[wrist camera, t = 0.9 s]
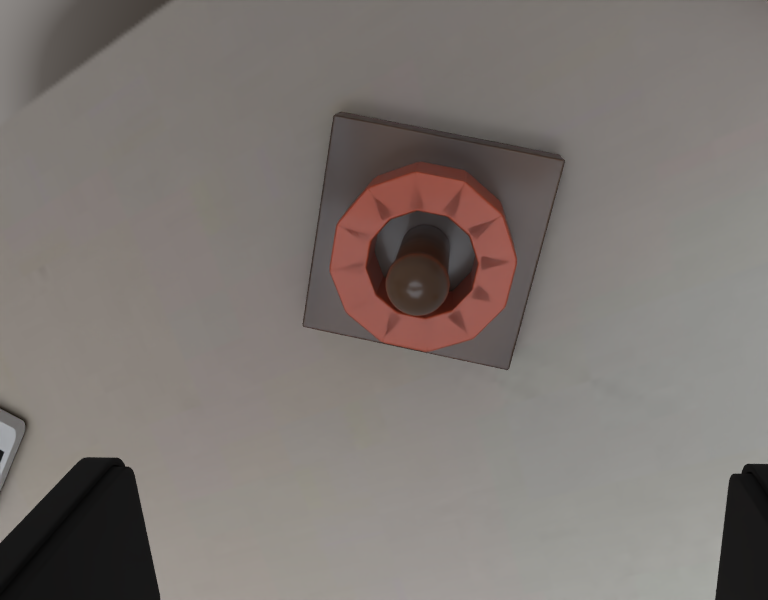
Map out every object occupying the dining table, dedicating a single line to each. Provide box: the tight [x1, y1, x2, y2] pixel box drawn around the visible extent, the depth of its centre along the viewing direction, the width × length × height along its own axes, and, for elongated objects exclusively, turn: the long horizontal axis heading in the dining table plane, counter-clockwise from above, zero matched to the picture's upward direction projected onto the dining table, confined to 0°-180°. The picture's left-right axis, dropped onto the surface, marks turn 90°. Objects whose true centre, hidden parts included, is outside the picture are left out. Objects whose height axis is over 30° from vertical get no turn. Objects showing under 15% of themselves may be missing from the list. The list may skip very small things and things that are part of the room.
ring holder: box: [303, 112, 565, 370], centre depth 26 cm, size 9×9×7 cm
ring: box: [329, 162, 517, 352], centre depth 27 cm, size 7×7×2 cm
